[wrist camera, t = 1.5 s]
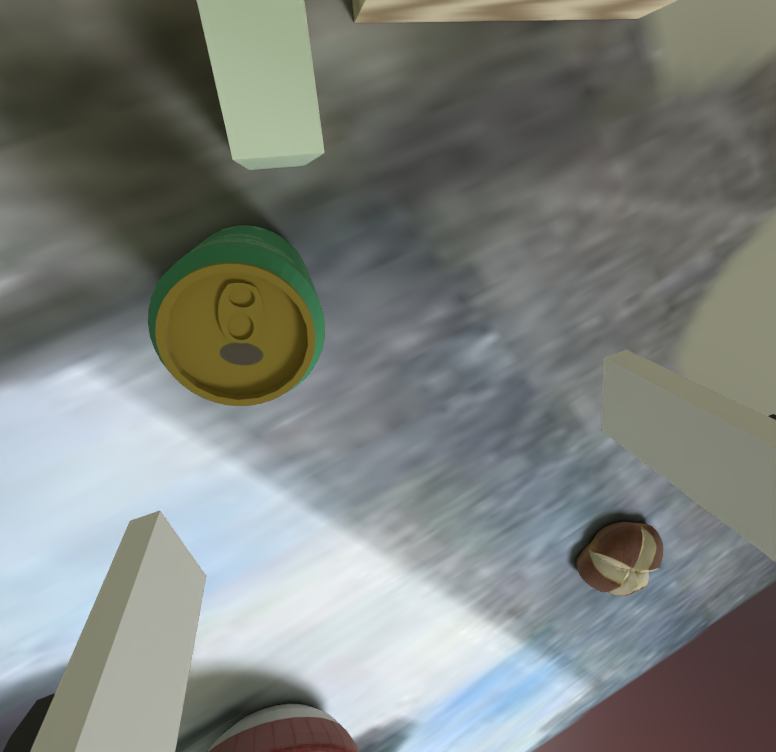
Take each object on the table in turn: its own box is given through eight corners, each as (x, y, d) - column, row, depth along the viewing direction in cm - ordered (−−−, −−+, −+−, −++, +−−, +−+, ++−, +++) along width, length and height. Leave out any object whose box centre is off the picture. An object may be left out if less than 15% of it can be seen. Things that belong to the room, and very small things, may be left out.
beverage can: (191, 330, 29) (145, 414, 18) (190, 214, 26) (132, 234, 15) (303, 340, 31) (318, 418, 21) (314, 234, 28) (337, 263, 18)
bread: (609, 580, 59) (636, 612, 54) (560, 566, 54) (585, 600, 50) (661, 525, 56) (694, 554, 52) (613, 505, 51) (645, 536, 47)
